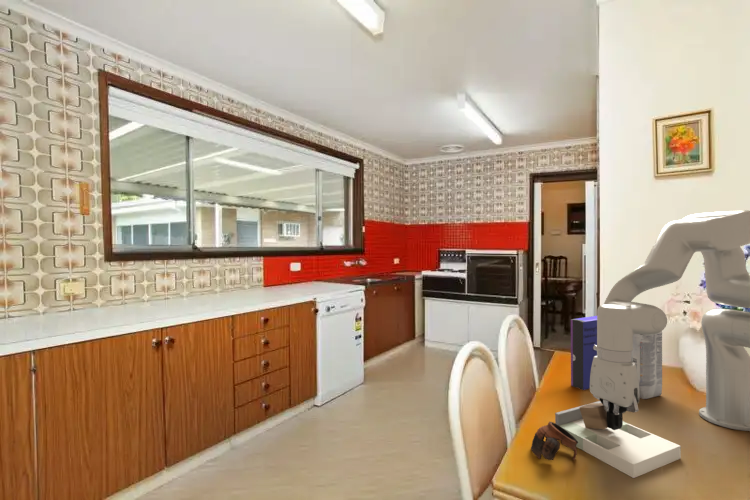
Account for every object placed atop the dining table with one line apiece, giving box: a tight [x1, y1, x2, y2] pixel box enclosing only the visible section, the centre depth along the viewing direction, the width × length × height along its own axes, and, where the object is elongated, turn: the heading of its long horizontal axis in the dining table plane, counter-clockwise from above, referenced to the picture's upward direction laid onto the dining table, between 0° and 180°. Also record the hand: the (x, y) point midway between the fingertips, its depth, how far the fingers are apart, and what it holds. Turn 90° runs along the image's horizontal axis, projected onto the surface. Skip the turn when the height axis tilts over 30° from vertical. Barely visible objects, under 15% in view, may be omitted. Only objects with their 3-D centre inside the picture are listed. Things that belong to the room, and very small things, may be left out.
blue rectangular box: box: [570, 315, 597, 391], centre depth 134 cm, size 17×5×24 cm, turn 115°
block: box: [578, 402, 608, 429], centre depth 97 cm, size 5×5×5 cm
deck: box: [554, 400, 682, 479], centre depth 93 cm, size 20×18×6 cm
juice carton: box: [633, 331, 663, 400], centre depth 125 cm, size 9×10×27 cm
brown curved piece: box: [530, 421, 578, 461], centre depth 89 cm, size 12×10×8 cm
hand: (614, 427), depth 93 cm, fingers closed
